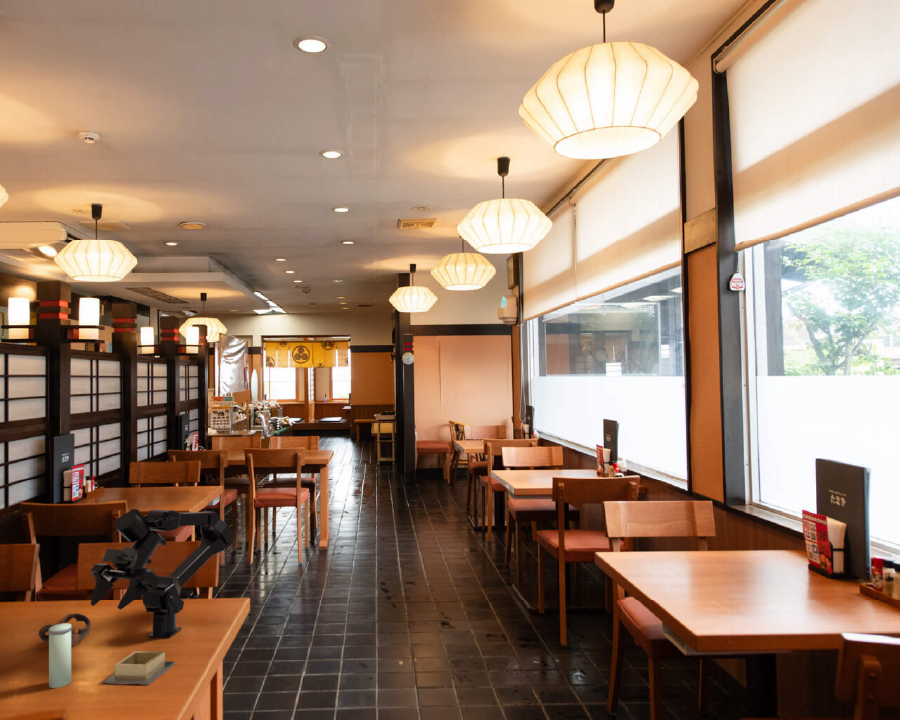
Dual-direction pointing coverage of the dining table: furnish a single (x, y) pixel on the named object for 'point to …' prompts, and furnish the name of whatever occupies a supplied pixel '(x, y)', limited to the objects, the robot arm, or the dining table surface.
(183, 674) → the dining table surface
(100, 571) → the robot arm
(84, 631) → the dark double loop ring
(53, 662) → the pale green cylinder
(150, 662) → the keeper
